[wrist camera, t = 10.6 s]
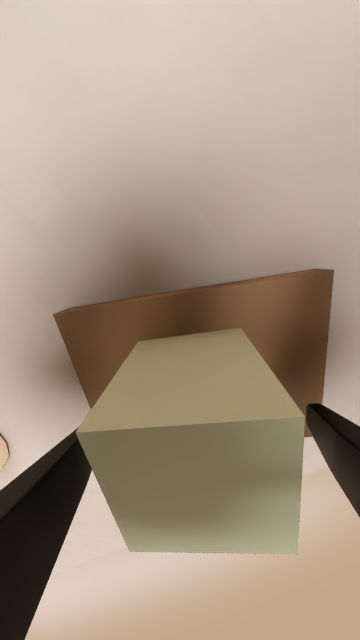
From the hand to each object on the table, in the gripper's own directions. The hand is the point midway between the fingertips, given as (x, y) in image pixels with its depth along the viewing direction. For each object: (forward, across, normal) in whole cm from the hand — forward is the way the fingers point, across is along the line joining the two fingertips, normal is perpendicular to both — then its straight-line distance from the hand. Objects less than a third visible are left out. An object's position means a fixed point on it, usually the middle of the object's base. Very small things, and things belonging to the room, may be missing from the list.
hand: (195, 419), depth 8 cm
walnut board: (+4, 0, 0) cm, 4 cm away
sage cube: (+3, 0, 0) cm, 3 cm away
